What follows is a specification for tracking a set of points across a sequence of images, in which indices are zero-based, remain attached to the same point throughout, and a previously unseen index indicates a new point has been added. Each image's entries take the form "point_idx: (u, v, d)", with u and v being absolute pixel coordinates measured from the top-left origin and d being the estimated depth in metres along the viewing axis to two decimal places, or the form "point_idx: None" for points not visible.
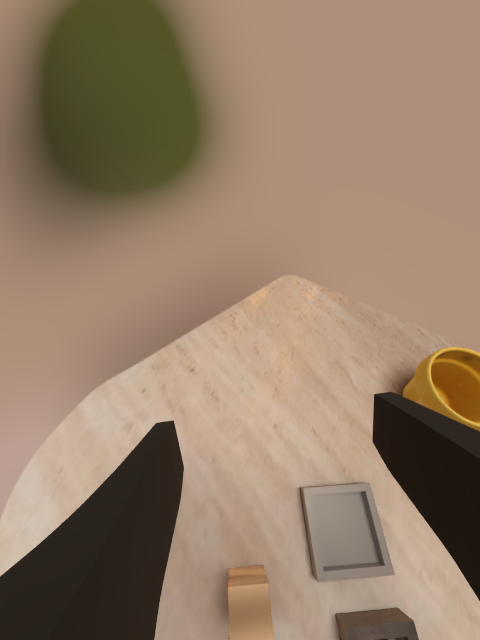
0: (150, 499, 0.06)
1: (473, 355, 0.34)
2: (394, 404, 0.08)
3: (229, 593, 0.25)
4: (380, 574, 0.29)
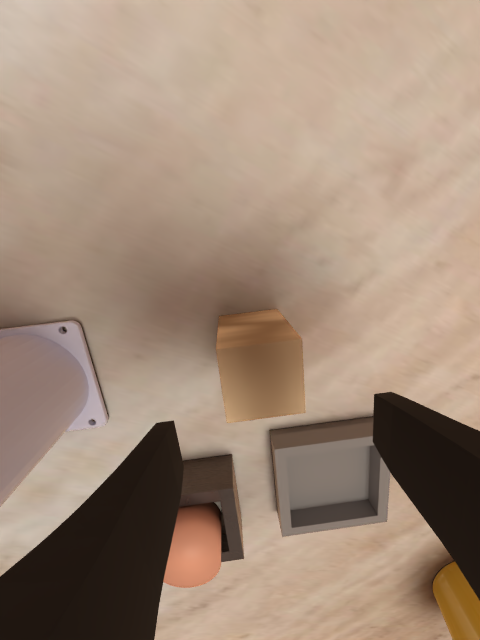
0: (150, 499, 0.06)
1: None
2: (394, 404, 0.08)
3: (292, 342, 0.12)
4: (282, 521, 0.20)
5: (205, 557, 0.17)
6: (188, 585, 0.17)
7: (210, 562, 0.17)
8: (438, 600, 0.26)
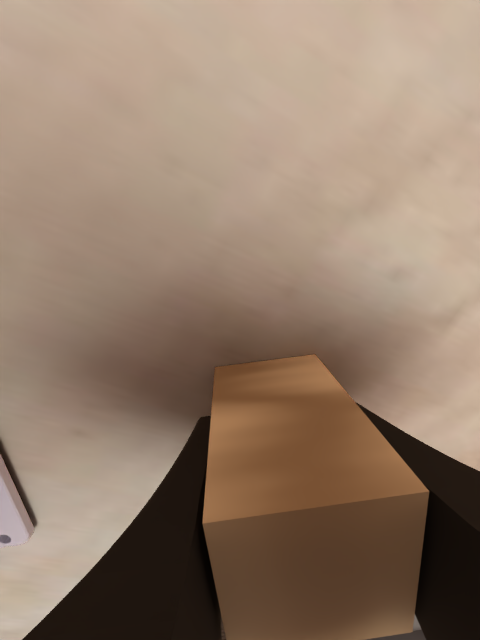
0: None
1: None
2: None
3: (402, 500, 0.05)
4: None
5: None
6: None
7: None
8: None
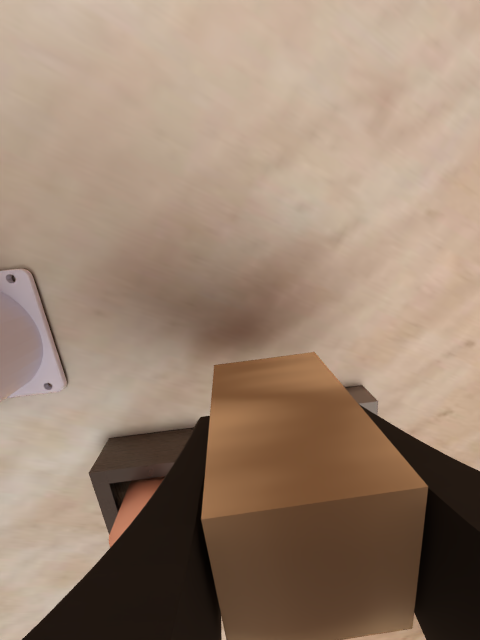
0: None
1: None
2: None
3: (401, 496, 0.05)
4: None
5: None
6: None
7: None
8: None
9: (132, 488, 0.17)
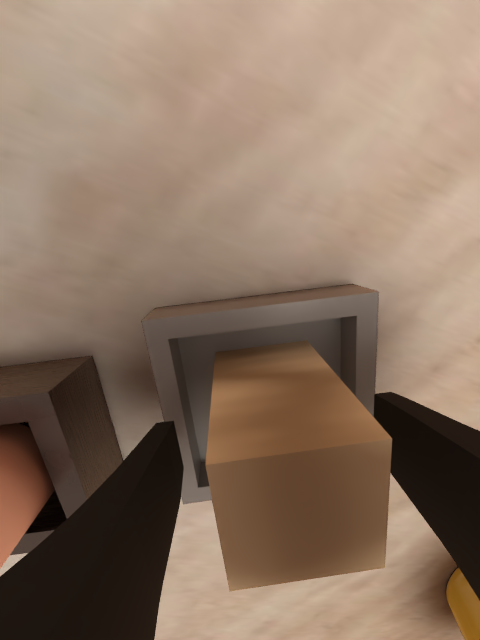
0: (150, 499, 0.06)
1: None
2: (394, 404, 0.08)
3: (370, 446, 0.06)
4: None
5: None
6: None
7: None
8: (456, 613, 0.16)
9: None
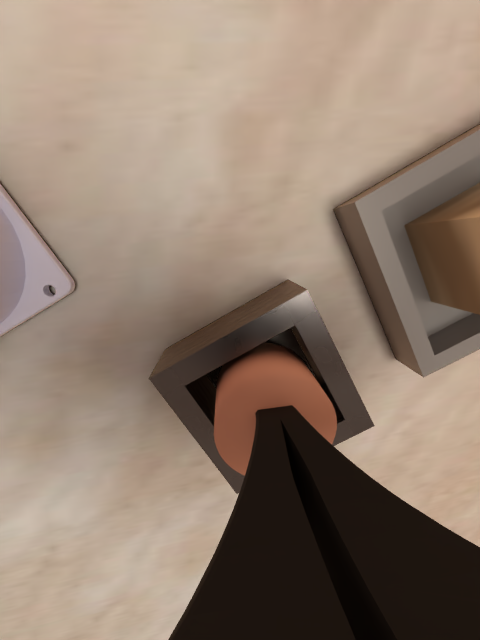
0: None
1: None
2: (282, 419, 0.08)
3: None
4: (415, 349, 0.12)
5: (302, 406, 0.09)
6: None
7: (315, 414, 0.09)
8: None
9: (221, 378, 0.11)
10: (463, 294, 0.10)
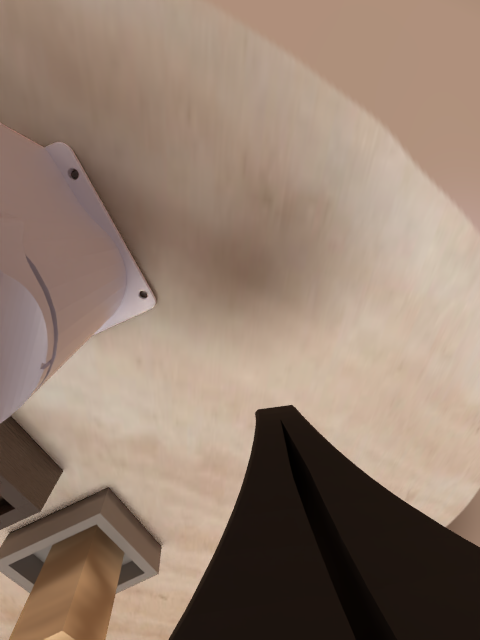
0: None
1: None
2: (282, 419, 0.08)
3: None
4: (11, 555, 0.19)
5: None
6: None
7: None
8: None
9: None
10: (48, 571, 0.19)
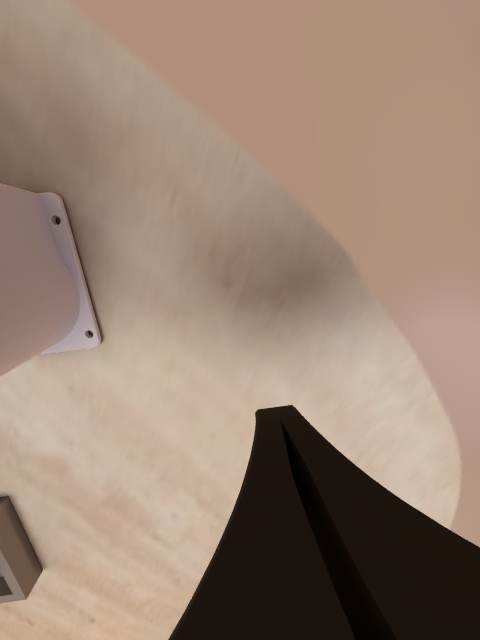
0: None
1: None
2: (282, 419, 0.08)
3: None
4: None
5: None
6: None
7: None
8: None
9: None
10: None
